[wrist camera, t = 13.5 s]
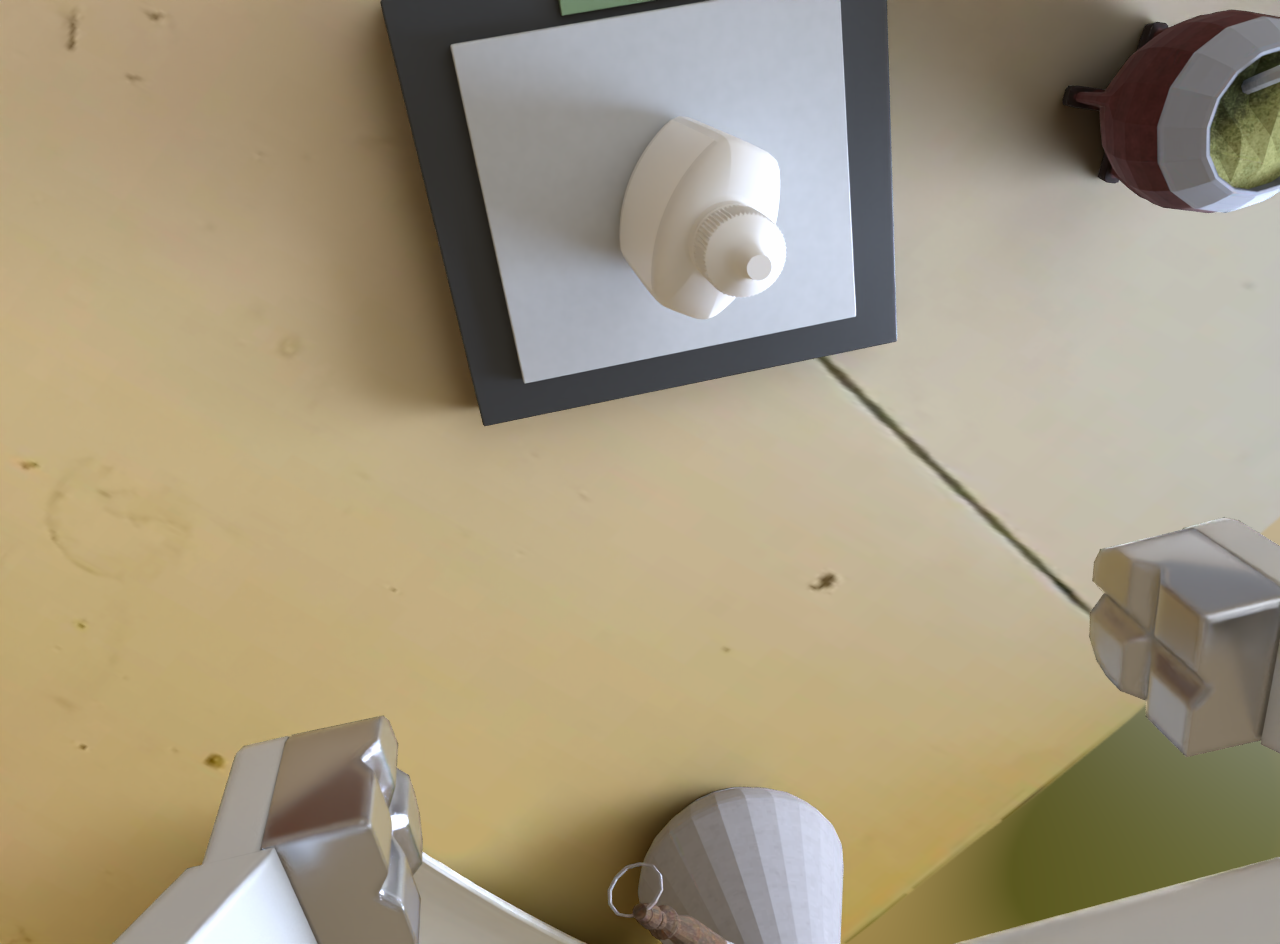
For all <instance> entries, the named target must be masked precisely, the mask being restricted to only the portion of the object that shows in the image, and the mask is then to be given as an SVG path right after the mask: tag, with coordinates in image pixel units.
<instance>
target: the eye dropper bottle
mask: <svg viewBox="0 0 1280 944" xmlns="http://www.w3.org/2000/svg"><path fill="white" fill-rule="evenodd" d="M779 196H780V173H779V167H778V164H777V161H776V160H775V159H774V158H773V157H772V156H771V155H770V154H769V153H768V152H766V151H764V150H762V149H760V148H758V147H756V146H754V145H752V144H750V143H748V142H746V141H744V140H741V139H739V138H737V137H734V136H732V135H730V134H727V133H725V132H723V131H721V130H718V129H716V128H713V127H711V126H709V125H706V124H704V123H702V122H699V121H697V120H694V119H692V118H689V117H683V116H678V117H676V118H674V119H671V120H670V121H669V122H668V123H667V124H666V125H664V126H663V127H662V128H661V130H660V131H659V132H658V133H657V134H656V135H655V137H654V138H653V139H652V140H651V142H650V143H649V144H648V146H647V147H646V149H645V150H644V152H643V153H642V155H641V157H640V158H639V160H638V162H637V164H636V166H635V168H634V170H633V172H632V174H631V177H630V179H629V182H628V185H627V188H626V191H625V195H624V199H623V203H622V209H621V216H620V228H619V241H620V249H621V252H622V254H623V257H624V258H625V260H626V261H627V263H628V264H629V265H630V267H631V268H632V270H633V271H634V272H635V274H636V275H637V276H638V278H639V279H640V281H641V282H642V283H643V285H644V286H645V287H646V289H647V290H648V291H649V293H650V294H651V295H652V296H653V297H654V299H655V300H657V301H658V302H659V303H660V304H662V305H663V306H664V307H666V308H669V309H671V310H673V311H676V312H678V313H681V314H684V315H687V316H689V317H693V318H696V319H709V318H712V317H714V316H716V315H717V314H718V313H720V312H721V311H722V310H723V309H725V308H726V307H727V306H728V305H729V304H730V303H731V302H732V301H733V300H734V299H735V298H737V297H740V298H742V297H744V298H746V297H747V296H748V297H750V296H751V295H752V296H754V295H755V294H757V295H758V294H759V292H760V293H762V291H763V290H766V288H769V287H770V285H772V284H773V282H775V281H776V278H778V275H779V274H781V273H780V271H781V270H783V269H782V267H783V266H784V264H783V263H784V262H785V257H786V256H785V254H786V251H785V249H786V247H785V242H784V238H783V234H781V230H779V227H778V226H776V219H777V214H778V207H779Z"/></svg>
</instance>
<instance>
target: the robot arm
mask: <svg viewBox="0 0 1280 944" xmlns="http://www.w3.org/2000/svg"><path fill="white" fill-rule="evenodd" d="M1092 581H1093V582H1094V583H1095V584H1096V585H1097V586H1098V587H1099V589H1100V590H1101V591H1102V592H1103V593H1104V594H1103V595H1102V597H1101V598H1100V600H1099V601H1098V602H1097V604H1096V605H1095V607H1094V608H1093V609H1092V611H1091V612H1090V633H1089V637H1090V641H1091V644H1092V647H1093V651H1094V654H1095V657H1096V660H1097V662H1098V663H1099V665H1100V667H1101V668H1102V670H1103V672H1104V673H1105V675H1106V676H1107V677H1108V678H1109V680H1110V681H1111V682H1112V683H1113V684H1114V685H1115V686H1116V687H1117V688H1118V689H1119V690H1120V691H1122V692H1125V693H1127V694H1130V695H1133V696H1135V697H1138V698H1141V699H1143V700H1146V717H1147V718H1148V719H1149V720H1150V721H1151V722H1152V723H1153V724H1154V725H1155V726H1156V727H1157V728H1158V729H1159V730H1160V731H1161V732H1162V733H1163V734H1164V735H1165V736H1166V737H1167V738H1168V739H1169V740H1170V741H1171V742H1172V743H1173V744H1174V745H1175V746H1176V747H1177V748H1178V749H1179V750H1180V751H1181V752H1182V753H1183V754H1184V755H1185V756H1186V757H1189V756H1194V755H1198V754H1202V753H1207V752H1211V751H1216V750H1220V749H1225V748H1229V747H1234V746H1238V745H1243V744H1247V743H1251V742H1256V741H1260V740H1261V745H1263V746H1266V747H1268V748H1270V749H1272V750H1274V751H1276V752H1278V753H1280V546H1279V545H1277V544H1276V543H1274V542H1272V541H1271V540H1269V539H1268V538H1266V537H1265V536H1263V535H1261V534H1260V533H1258V532H1257V531H1255V530H1253V529H1252V528H1250V527H1249V526H1247V525H1246V524H1244V523H1242V522H1241V521H1239V520H1235V519H1230V518H1225V517H1223V518H1219V519H1216V520H1212V521H1208V522H1204V523H1200V524H1197V525H1193V526H1189V527H1185V528H1183V529H1182V530H1179V531H1175V532H1171V533H1167V534H1162V535H1158V536H1154V537H1150V538H1146V539H1141V540H1137V541H1133V542H1129V543H1125V544H1120V545H1116V546H1112V547H1108V548H1104V549H1100V551H1099V553H1098V555H1097V557H1096V559H1095V561H1094V569H1093V580H1092ZM397 757H398V742H397V739H396V737H395V734H394V732H393V729H392V726H391V724H390V721H389V720H388V719H387V718H386V717H384V716H379V717H374V718H369V719H364V720H360V721H355V722H350V723H345V724H341V725H336V726H331V727H326V728H322V729H317V730H312V731H307V732H303V733H298V734H293V735H291V736H290V737H288V736H285V737H281V738H276V739H272V740H267V741H263V742H259V743H254V744H250V745H245V746H243V747H242V748H241V749H240V750H239V751H238V752H237V753H236V755H235V757H234V760H233V763H232V767H231V770H230V773H229V777H228V780H227V783H226V787H225V790H224V793H223V796H222V800H221V803H220V806H219V810H218V813H217V816H216V820H215V823H214V826H213V829H212V833H211V836H210V839H209V843H208V846H207V849H206V853H205V856H204V859H203V862H202V865H199V866H195V867H191V868H187V869H186V870H185V871H184V872H183V873H182V874H181V875H180V876H179V877H178V878H177V879H176V880H175V881H174V882H173V883H172V884H171V885H170V886H169V887H168V888H167V889H166V890H165V891H164V892H163V893H162V894H161V895H160V896H159V897H158V898H157V899H156V900H155V901H154V902H153V903H152V904H151V905H150V906H149V907H148V908H147V909H146V910H145V911H144V912H143V913H142V914H141V915H140V916H139V917H138V918H137V919H136V920H135V921H134V922H133V923H132V924H131V925H130V926H129V927H128V928H127V929H126V930H125V931H124V932H123V933H122V934H121V935H120V936H119V937H118V938H117V939H116V940H115V941H114V942H113V943H112V944H419V929H420V907H421V897H420V894H419V892H418V889H417V886H416V883H415V880H414V878H413V875H414V874H415V873H416V871H417V870H418V869H419V867H420V866H421V864H422V850H423V839H422V830H421V820H420V812H419V808H418V804H417V799H416V795H415V791H414V788H413V785H412V782H411V779H410V776H409V775H408V774H406V773H404V772H403V771H401V770H399V769H398V768H397ZM955 944H1280V857H1277V858H1273V859H1269V860H1266V861H1262V862H1258V863H1254V864H1251V865H1247V866H1243V867H1239V868H1235V869H1232V870H1228V871H1224V872H1220V873H1217V874H1213V875H1209V876H1206V877H1202V878H1198V879H1194V880H1190V881H1187V882H1183V883H1179V884H1175V885H1172V886H1168V887H1164V888H1160V889H1157V890H1153V891H1149V892H1145V893H1142V894H1138V895H1134V896H1130V897H1127V898H1123V899H1119V900H1116V901H1112V902H1108V903H1104V904H1100V905H1097V906H1093V907H1089V908H1086V909H1082V910H1078V911H1074V912H1070V913H1067V914H1063V915H1059V916H1055V917H1052V918H1048V919H1044V920H1041V921H1037V922H1033V923H1030V924H1026V925H1022V926H1018V927H1015V928H1011V929H1007V930H1004V931H1000V932H996V933H992V934H988V935H985V936H981V937H977V938H974V939H970V940H966V941H962V942H959V943H955Z"/></svg>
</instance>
